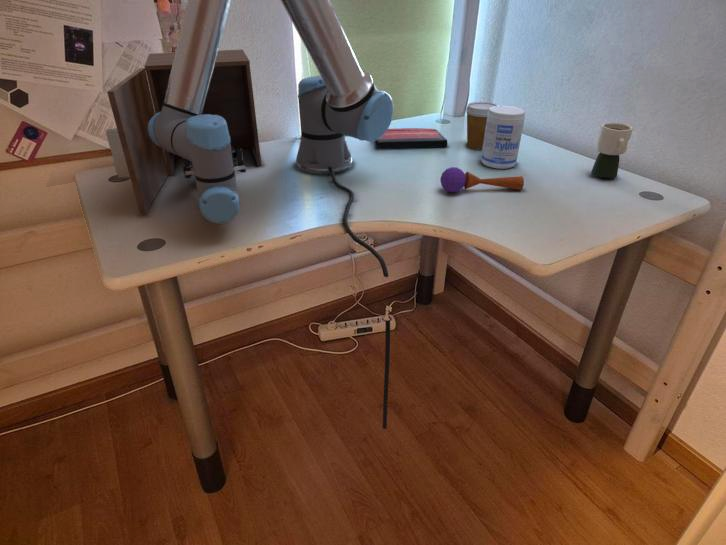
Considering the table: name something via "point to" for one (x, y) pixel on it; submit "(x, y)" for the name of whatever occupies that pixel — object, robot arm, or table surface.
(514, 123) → the supplement tub
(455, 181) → the kendama
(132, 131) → the cupboard
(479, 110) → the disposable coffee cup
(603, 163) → the character mug
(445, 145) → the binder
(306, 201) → the table surface
